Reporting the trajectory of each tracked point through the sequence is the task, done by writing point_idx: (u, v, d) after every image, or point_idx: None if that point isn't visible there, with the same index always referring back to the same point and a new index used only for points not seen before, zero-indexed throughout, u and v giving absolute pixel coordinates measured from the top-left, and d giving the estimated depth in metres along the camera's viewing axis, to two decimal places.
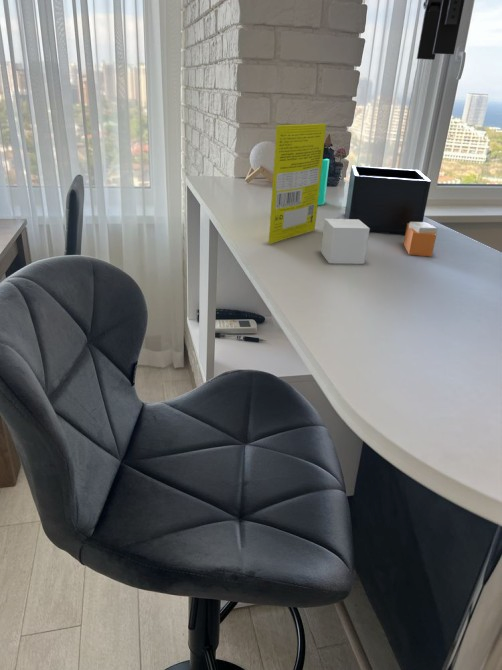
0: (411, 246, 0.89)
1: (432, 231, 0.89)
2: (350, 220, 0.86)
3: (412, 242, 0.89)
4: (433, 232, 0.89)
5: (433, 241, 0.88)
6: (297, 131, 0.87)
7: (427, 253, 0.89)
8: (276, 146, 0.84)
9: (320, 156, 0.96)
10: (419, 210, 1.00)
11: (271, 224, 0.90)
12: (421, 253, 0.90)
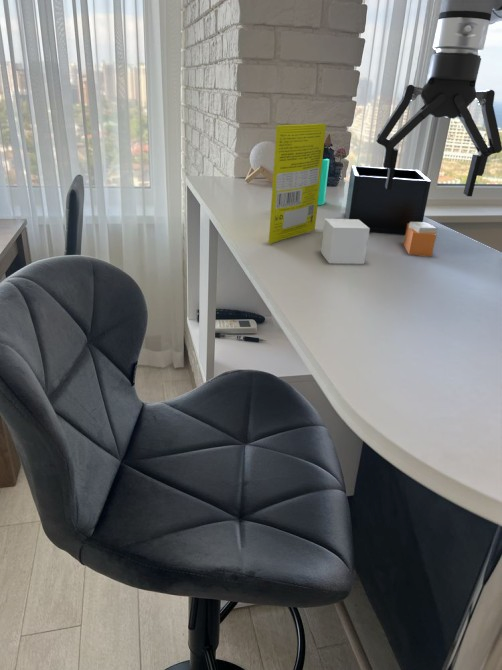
0: (411, 246, 0.89)
1: (432, 231, 0.89)
2: (350, 220, 0.86)
3: (412, 242, 0.89)
4: (433, 232, 0.89)
5: (433, 241, 0.88)
6: (297, 131, 0.87)
7: (427, 253, 0.89)
8: (276, 146, 0.84)
9: (320, 156, 0.96)
10: (419, 210, 1.00)
11: (271, 224, 0.90)
12: (421, 253, 0.90)
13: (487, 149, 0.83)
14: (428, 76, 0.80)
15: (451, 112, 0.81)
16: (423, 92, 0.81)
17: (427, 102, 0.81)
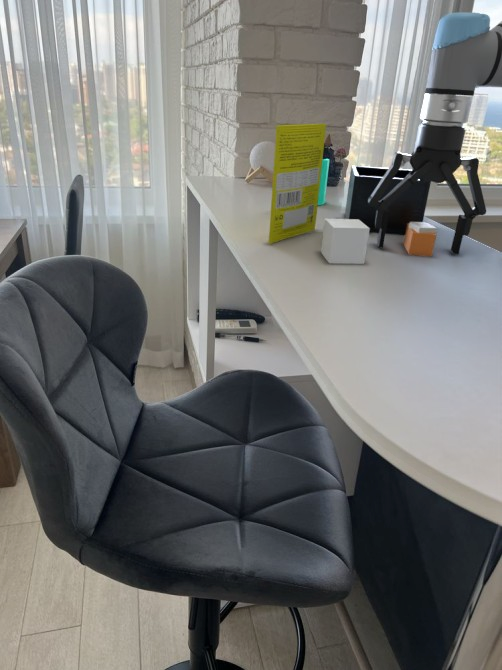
0: (411, 246, 0.89)
1: (432, 231, 0.89)
2: (350, 220, 0.86)
3: (412, 242, 0.89)
4: (433, 232, 0.89)
5: (433, 241, 0.88)
6: (297, 131, 0.87)
7: (427, 253, 0.89)
8: (276, 146, 0.84)
9: (320, 156, 0.96)
10: (419, 210, 1.00)
11: (271, 224, 0.90)
12: (421, 253, 0.90)
13: (472, 212, 0.88)
14: (416, 145, 0.85)
15: (438, 178, 0.86)
16: (411, 159, 0.86)
17: (415, 168, 0.86)
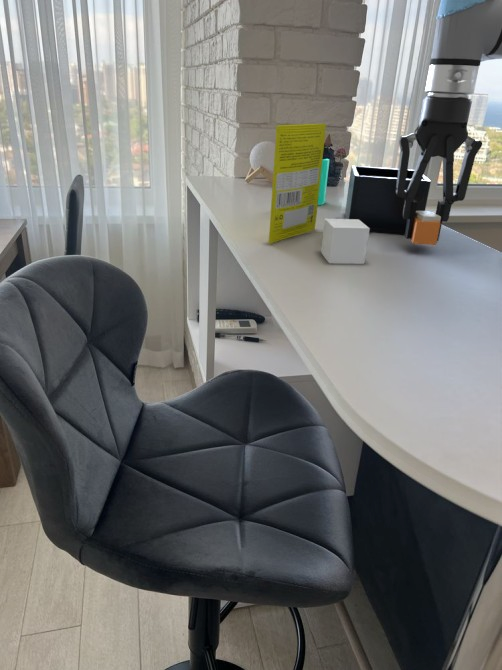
0: (415, 235, 0.88)
1: (436, 219, 0.88)
2: (350, 220, 0.86)
3: (416, 231, 0.88)
4: (437, 220, 0.88)
5: (437, 230, 0.88)
6: (297, 131, 0.87)
7: (431, 242, 0.89)
8: (276, 146, 0.84)
9: (320, 156, 0.96)
10: (419, 210, 1.00)
11: (271, 224, 0.90)
12: (425, 242, 0.89)
13: (452, 198, 0.87)
14: (421, 118, 0.83)
15: (444, 152, 0.84)
16: (416, 133, 0.84)
17: (421, 143, 0.84)
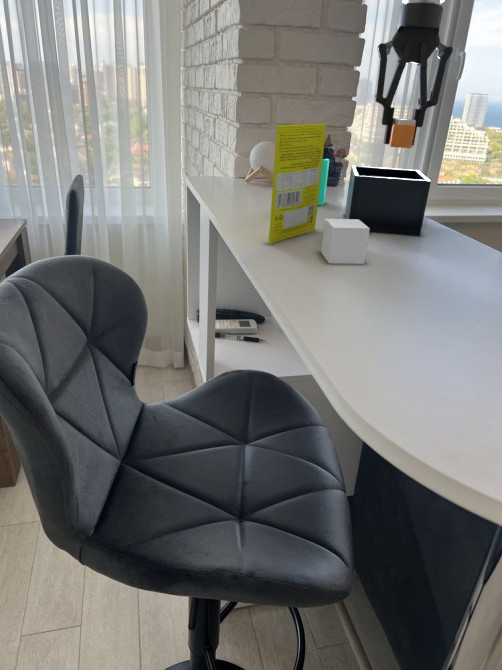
0: (392, 138, 0.96)
1: (411, 123, 0.95)
2: (350, 220, 0.86)
3: (393, 134, 0.96)
4: (412, 124, 0.95)
5: (412, 132, 0.95)
6: (297, 131, 0.87)
7: (407, 145, 0.96)
8: (276, 146, 0.84)
9: (320, 156, 0.96)
10: (419, 210, 1.00)
11: (271, 224, 0.90)
12: (402, 145, 0.97)
13: (425, 103, 0.95)
14: (397, 25, 0.91)
15: (418, 58, 0.92)
16: (393, 40, 0.91)
17: (397, 49, 0.92)
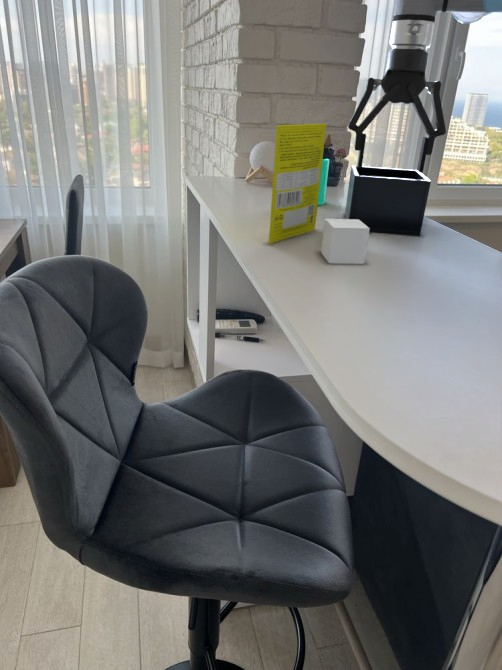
0: None
1: None
2: (350, 220, 0.86)
3: None
4: None
5: None
6: (297, 131, 0.87)
7: None
8: (276, 146, 0.84)
9: (320, 156, 0.96)
10: (419, 210, 1.00)
11: (271, 224, 0.90)
12: None
13: (434, 132, 0.99)
14: (386, 69, 0.96)
15: (406, 98, 0.97)
16: (382, 82, 0.97)
17: (386, 90, 0.97)
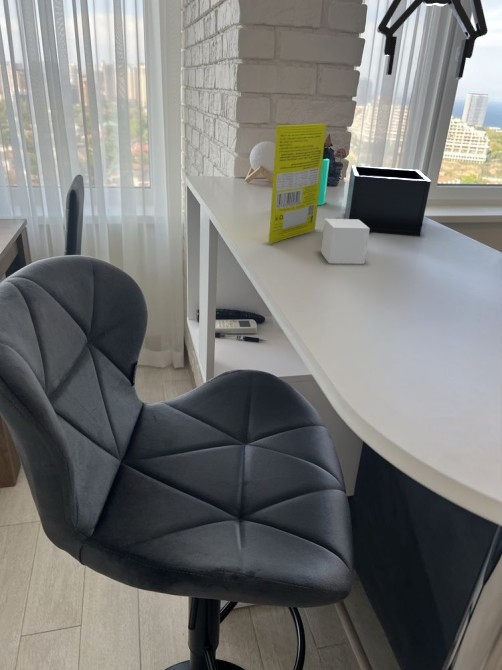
0: None
1: None
2: (350, 220, 0.86)
3: None
4: None
5: None
6: (297, 131, 0.87)
7: None
8: (276, 146, 0.84)
9: (320, 156, 0.96)
10: (419, 210, 1.00)
11: (271, 224, 0.90)
12: None
13: (474, 32, 0.95)
14: None
15: None
16: None
17: None
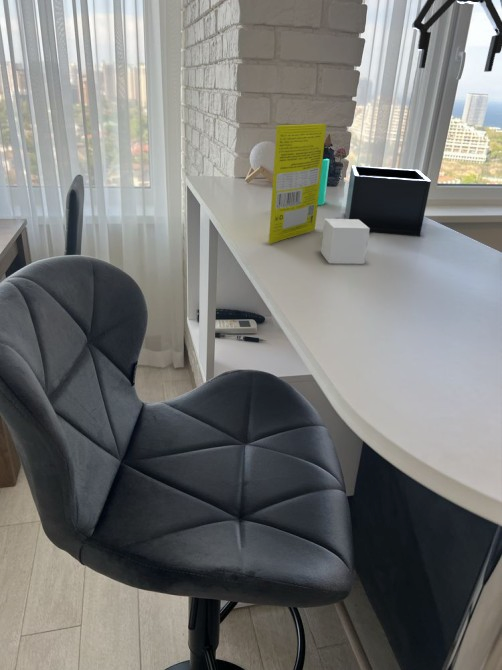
0: None
1: None
2: (350, 220, 0.86)
3: None
4: None
5: None
6: (297, 131, 0.87)
7: None
8: (276, 146, 0.84)
9: (320, 156, 0.96)
10: (419, 210, 1.00)
11: (271, 224, 0.90)
12: None
13: None
14: None
15: None
16: None
17: None
